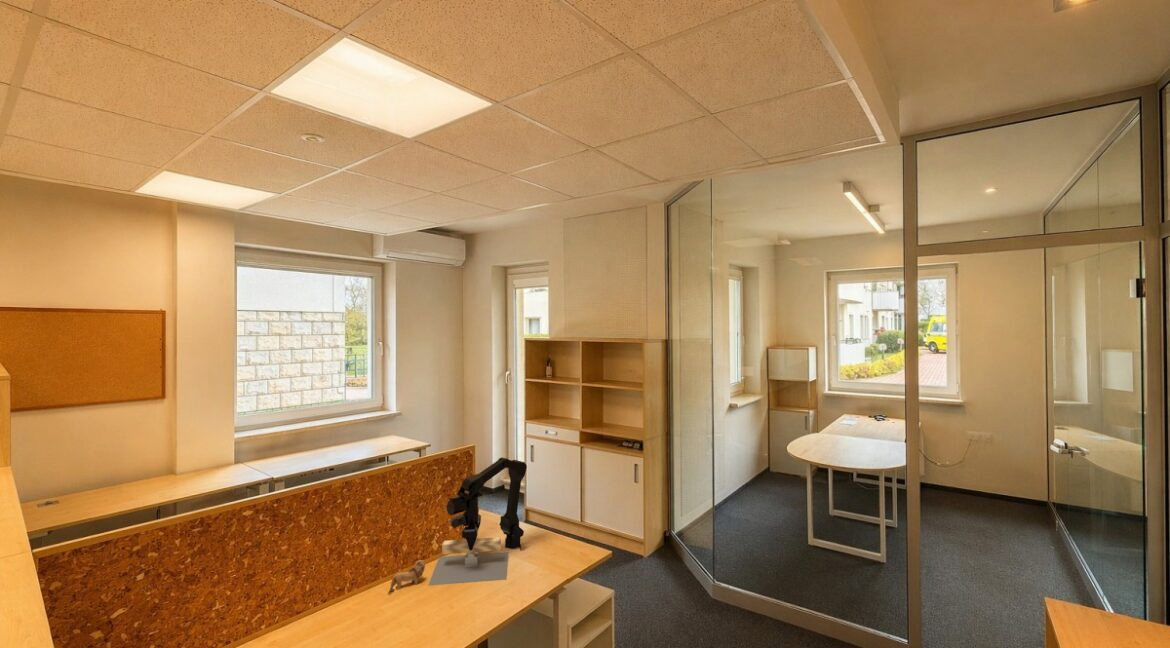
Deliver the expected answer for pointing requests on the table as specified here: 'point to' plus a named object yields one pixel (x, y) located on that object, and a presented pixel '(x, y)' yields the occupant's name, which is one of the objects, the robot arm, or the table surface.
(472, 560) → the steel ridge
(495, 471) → the robot arm
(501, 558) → the base board
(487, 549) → the beech batten
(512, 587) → the table surface
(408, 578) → the lion figurine
